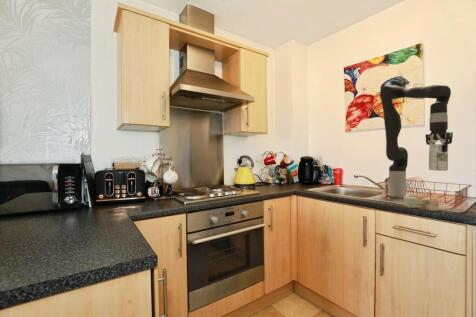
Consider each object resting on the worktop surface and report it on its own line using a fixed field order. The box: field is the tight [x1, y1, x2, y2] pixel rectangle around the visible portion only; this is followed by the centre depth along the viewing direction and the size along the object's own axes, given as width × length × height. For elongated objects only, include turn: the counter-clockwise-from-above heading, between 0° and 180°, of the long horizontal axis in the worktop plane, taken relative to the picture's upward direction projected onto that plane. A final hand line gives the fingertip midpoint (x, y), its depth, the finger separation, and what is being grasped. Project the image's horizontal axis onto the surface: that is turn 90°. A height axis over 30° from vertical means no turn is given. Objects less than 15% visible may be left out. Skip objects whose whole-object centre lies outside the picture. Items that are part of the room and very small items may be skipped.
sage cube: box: [402, 196, 420, 209], centre depth 124 cm, size 5×5×5 cm
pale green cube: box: [407, 194, 424, 206], centre depth 129 cm, size 5×5×5 cm
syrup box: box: [428, 143, 449, 172], centre depth 125 cm, size 6×6×14 cm
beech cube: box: [420, 198, 440, 212], centre depth 117 cm, size 5×5×5 cm
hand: (438, 152), depth 125 cm, fingers closed on syrup box, 6 cm apart
